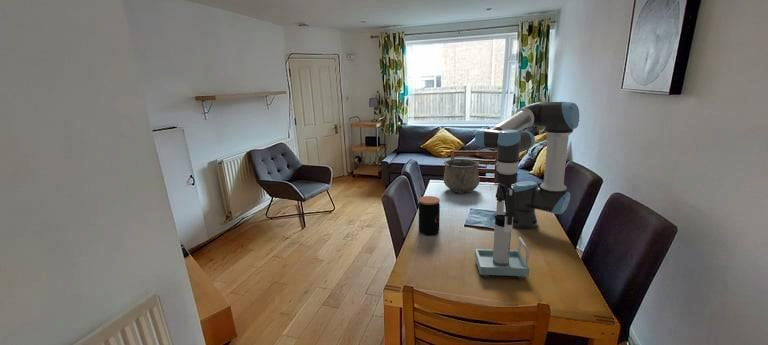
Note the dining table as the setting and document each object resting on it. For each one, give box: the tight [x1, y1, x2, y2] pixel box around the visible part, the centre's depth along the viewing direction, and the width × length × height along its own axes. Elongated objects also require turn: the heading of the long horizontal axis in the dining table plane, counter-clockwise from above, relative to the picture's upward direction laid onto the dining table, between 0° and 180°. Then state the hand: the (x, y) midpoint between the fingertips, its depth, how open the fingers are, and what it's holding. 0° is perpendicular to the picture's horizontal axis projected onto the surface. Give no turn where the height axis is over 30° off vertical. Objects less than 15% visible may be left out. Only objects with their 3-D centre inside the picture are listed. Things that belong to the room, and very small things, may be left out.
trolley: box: [474, 236, 531, 281], centre depth 128 cm, size 18×14×12 cm
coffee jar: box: [418, 195, 441, 237], centre depth 163 cm, size 11×11×18 cm
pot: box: [443, 158, 481, 193], centre depth 224 cm, size 25×24×21 cm
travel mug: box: [492, 214, 512, 266], centre depth 126 cm, size 6×7×20 cm
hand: (503, 223), depth 124 cm, fingers open, 13 cm apart
